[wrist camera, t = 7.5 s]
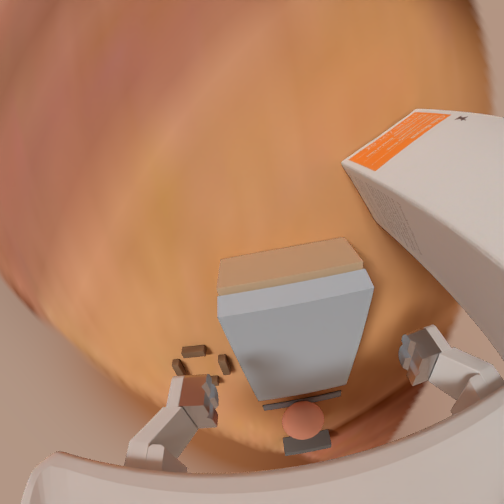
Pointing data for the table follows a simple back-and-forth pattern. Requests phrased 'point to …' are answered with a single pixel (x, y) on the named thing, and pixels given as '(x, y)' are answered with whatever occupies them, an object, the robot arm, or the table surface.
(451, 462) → the robot arm
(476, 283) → the skincare box
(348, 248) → the ramp
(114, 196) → the table surface
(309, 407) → the ball
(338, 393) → the line
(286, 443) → the rail
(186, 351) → the stand
